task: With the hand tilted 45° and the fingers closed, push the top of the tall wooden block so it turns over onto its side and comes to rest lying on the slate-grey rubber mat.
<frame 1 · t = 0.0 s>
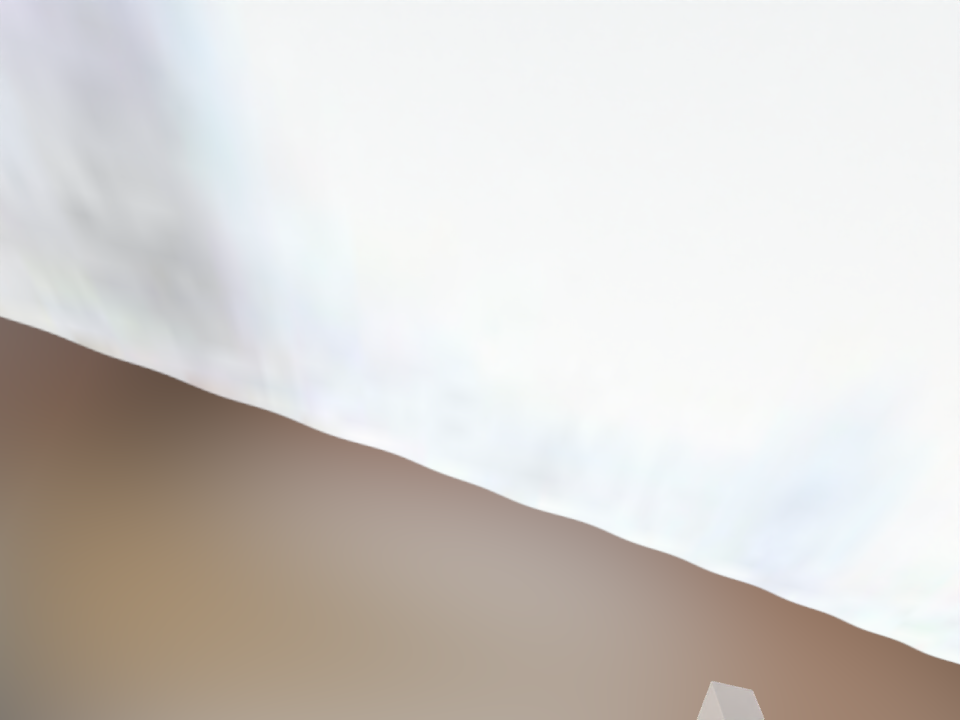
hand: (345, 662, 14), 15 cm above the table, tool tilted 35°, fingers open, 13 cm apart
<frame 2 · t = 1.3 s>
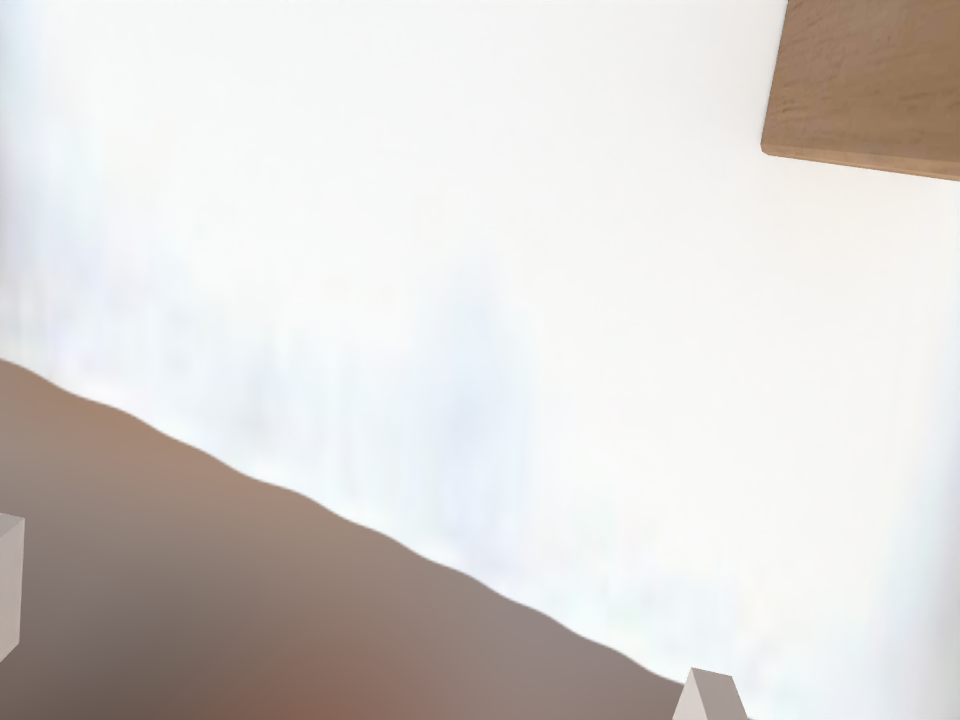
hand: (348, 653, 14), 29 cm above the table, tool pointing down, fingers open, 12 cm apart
wooden block: (877, 57, 37), on the table
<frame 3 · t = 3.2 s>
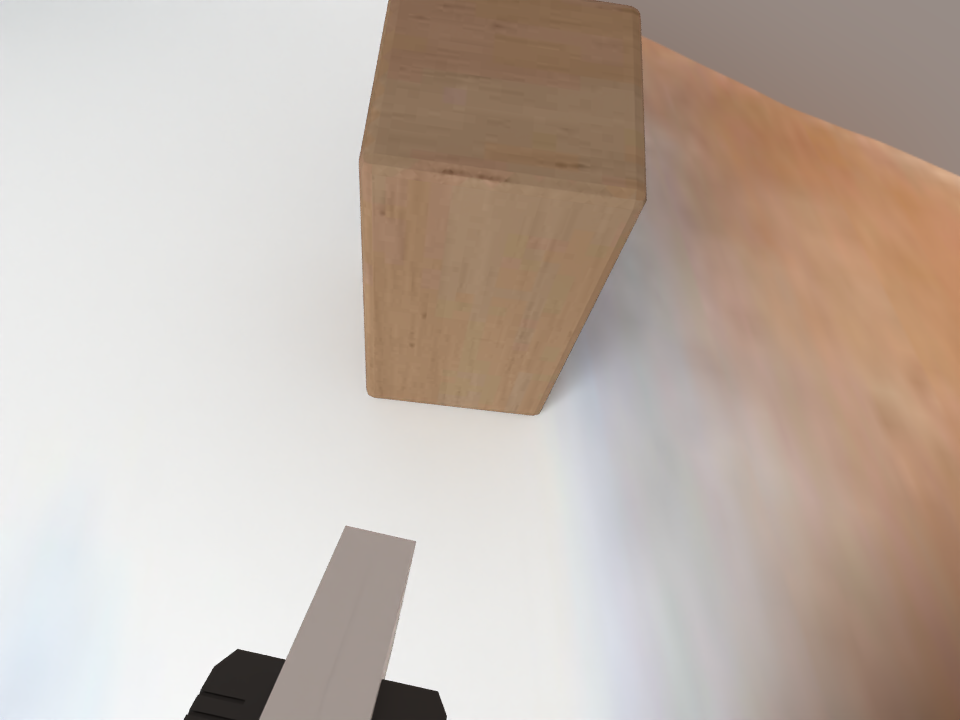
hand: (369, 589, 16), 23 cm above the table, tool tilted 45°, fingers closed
wooden block: (460, 334, 46), on the table
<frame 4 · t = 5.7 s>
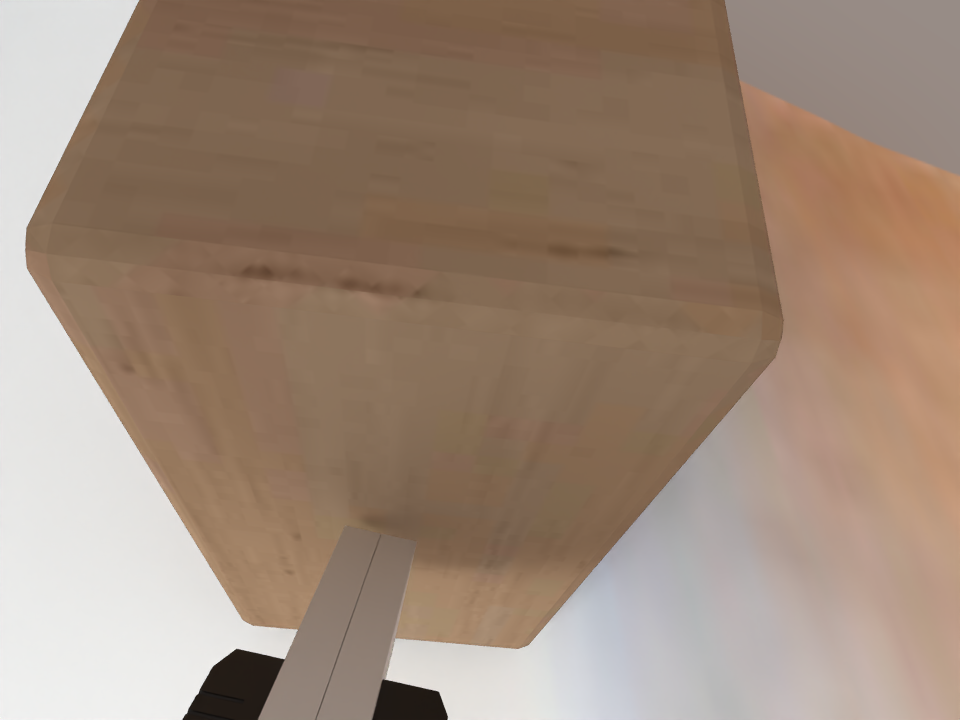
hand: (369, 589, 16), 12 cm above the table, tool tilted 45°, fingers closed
wooden block: (402, 505, 29), on the table, touching gripper
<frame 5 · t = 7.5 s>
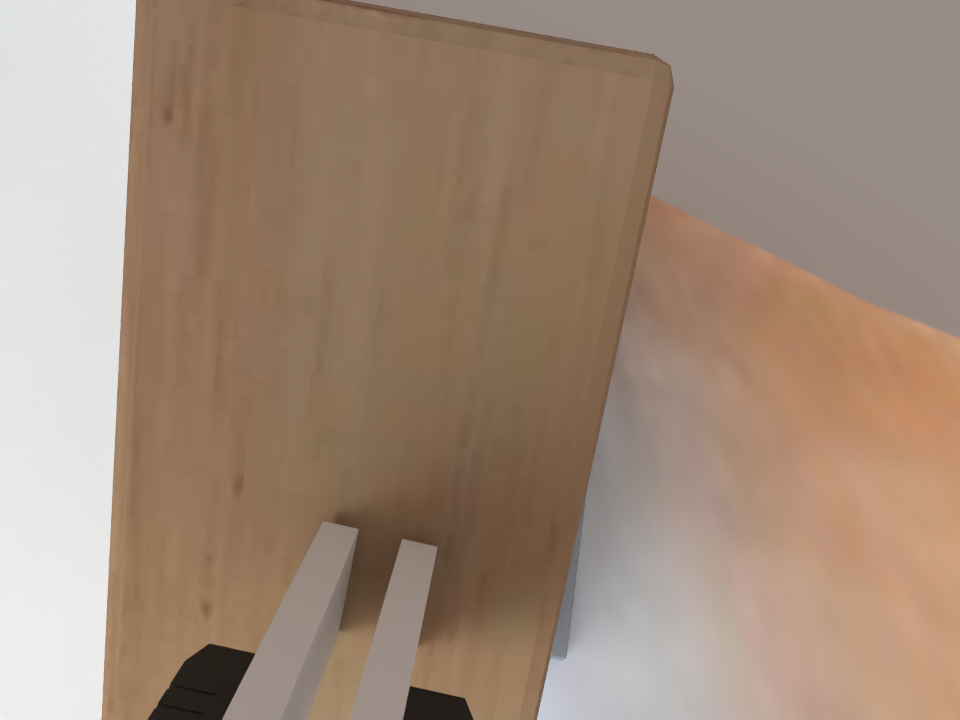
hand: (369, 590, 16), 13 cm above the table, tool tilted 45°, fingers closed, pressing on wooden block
mat: (435, 385, 33), on the table
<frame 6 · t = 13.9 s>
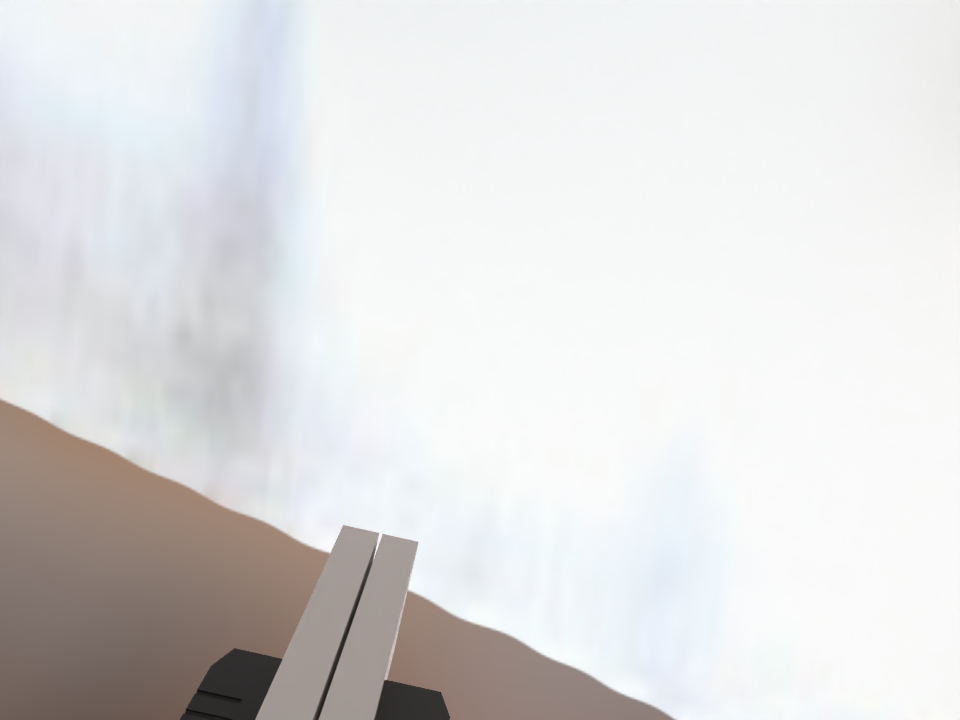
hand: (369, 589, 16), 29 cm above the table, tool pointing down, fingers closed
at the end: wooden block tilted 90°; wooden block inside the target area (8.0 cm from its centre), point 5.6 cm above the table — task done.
